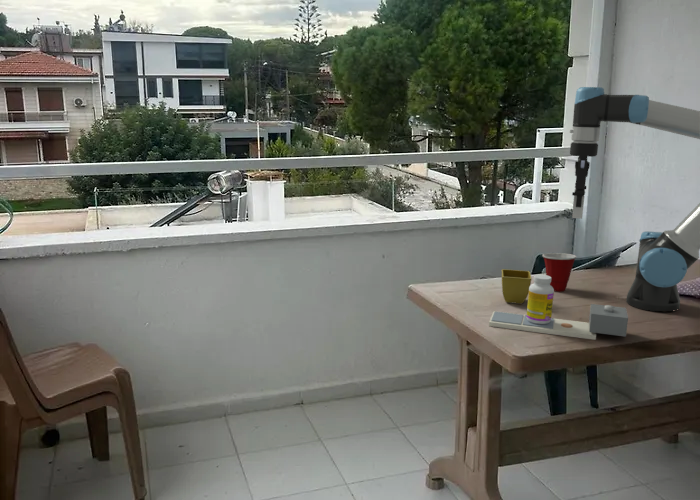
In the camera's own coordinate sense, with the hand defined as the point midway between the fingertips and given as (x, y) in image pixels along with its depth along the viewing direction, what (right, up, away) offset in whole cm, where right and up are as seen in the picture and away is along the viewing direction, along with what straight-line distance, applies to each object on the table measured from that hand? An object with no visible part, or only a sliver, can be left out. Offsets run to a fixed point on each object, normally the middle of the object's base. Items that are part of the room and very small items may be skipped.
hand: (577, 214), depth 191 cm
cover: (+2, -32, -17) cm, 36 cm away
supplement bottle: (-15, -31, -11) cm, 36 cm away
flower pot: (-16, -27, +11) cm, 33 cm away
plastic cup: (+2, -24, +25) cm, 34 cm away
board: (-14, -32, -11) cm, 37 cm away
